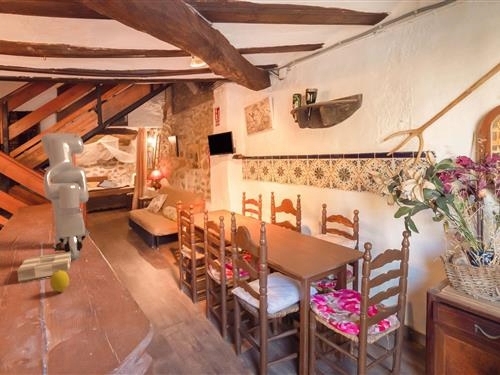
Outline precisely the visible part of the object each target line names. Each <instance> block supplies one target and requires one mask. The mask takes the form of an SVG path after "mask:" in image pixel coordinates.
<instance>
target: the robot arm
mask: <svg viewBox="0 0 500 375" xmlns="http://www.w3.org/2000/svg"><path fill="white" fill-rule="evenodd" d="M41 145H42V149H43V150H44V152H45V155H46V156H47V158H48V161H49V168H47V170H46V171H45V173H44V175H43V181H42V182H43V190H44V195H45V198H46V199H47V200H50V202H51V204H52V209H53V218H54V229H55V236H54V240H56V243H54V244H53V248H54V249H55V248H56V246H55V245H56V244H58V243H60V242H62V243H64V245H65V251H66V250H67V252H69V248H68V241H67V240H68V238H67V237H70V236H71V235H73V236H77V237H78V251H79V252H80V251H81V250H82V249H83V246H82V244H83V241H84V240H85V238H88V237H89V235H90V234H91V233H90V231H88V230H87V228H86V226H85V219H84V216H83V213H82V212H83V211H84V207H81V206H80V204H85V203H87V202H88V201H89V197H90V196H89V187H88V182H87V175H86V171H85V169H84V168H83V167H81V166H74V163H73V162H74V161H73V157H72V154H73V155H75V154H76V155H77V154H78V155H79V154H82V153H83V152H84V149H85V148H84V147H85V146H84V141H83V139H82V138H81V137H80V135H79V134H78V133H70V132H69V133H67V132H65V133H63V132H62V133H61V132H49V133H44V134H42V136H41ZM65 251H64V252H65Z"/></svg>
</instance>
